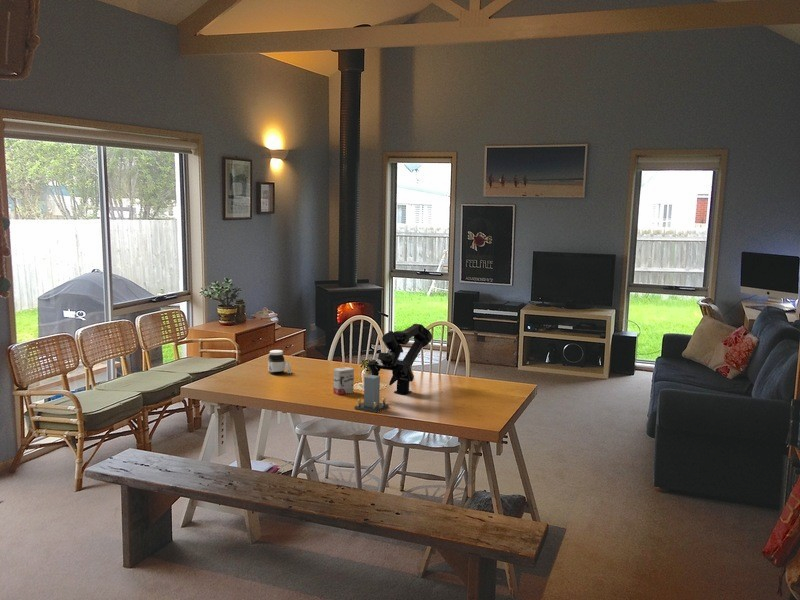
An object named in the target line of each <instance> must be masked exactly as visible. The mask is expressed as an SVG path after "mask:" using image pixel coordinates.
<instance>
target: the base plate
mask: <svg viewBox="0 0 800 600" xmlns="http://www.w3.org/2000/svg"><path fill="white" fill-rule="evenodd" d="M361 400H362V399H360V398H358V399H357V405H354V410H357V411H362V410H363V411H364V412H367V411H370V412H369V413H373V412H376V413H375V414H377V412H378V411H379V412H381V411H383V410H385V409H387V408H389V404H388V403H386V397H382V402H379V405H378V406H377V402H374V408H373V407H367V406H364V401H363V402H362V403H361ZM382 409H383V410H382ZM380 410H381V411H380ZM379 412H378V413H379Z"/></svg>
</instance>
